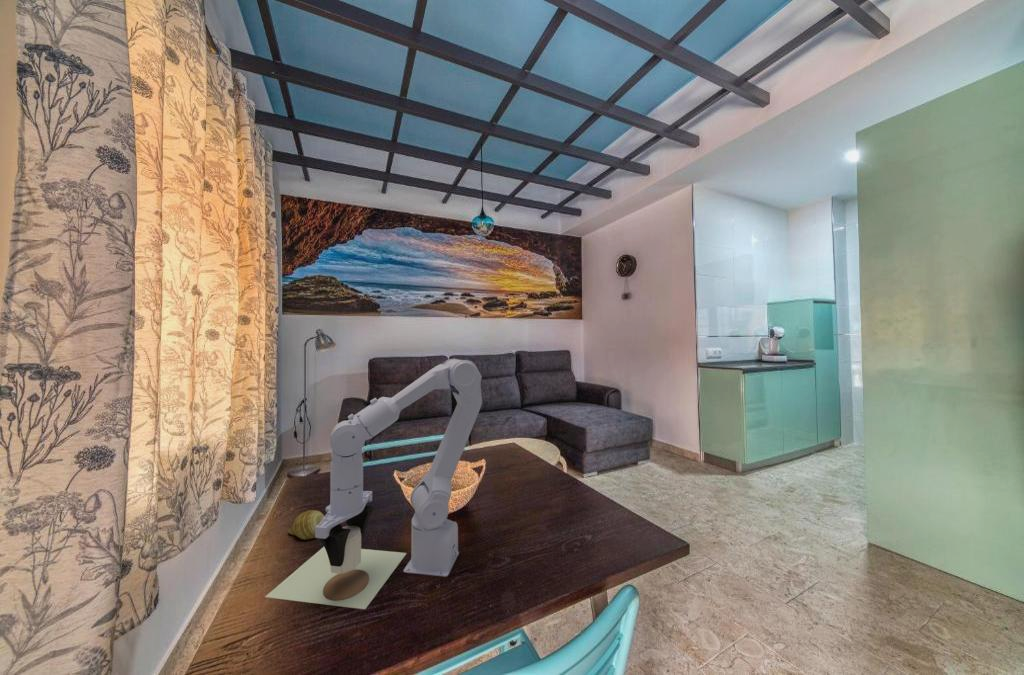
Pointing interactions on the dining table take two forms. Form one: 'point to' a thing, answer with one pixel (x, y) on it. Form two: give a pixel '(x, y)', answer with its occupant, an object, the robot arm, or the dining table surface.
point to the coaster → (345, 585)
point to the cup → (350, 551)
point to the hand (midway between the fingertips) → (346, 555)
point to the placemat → (317, 573)
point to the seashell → (306, 524)
